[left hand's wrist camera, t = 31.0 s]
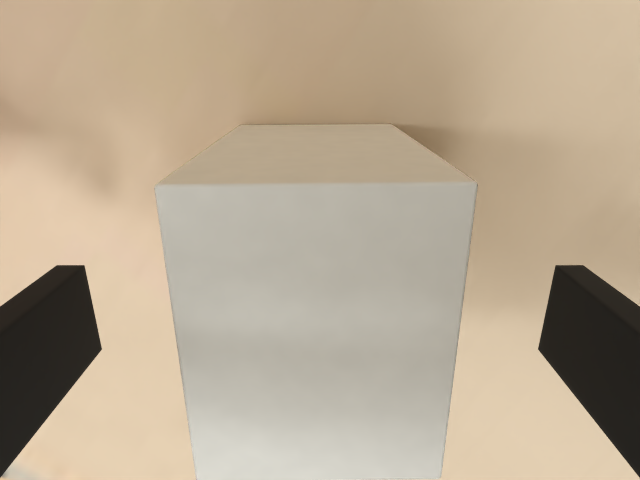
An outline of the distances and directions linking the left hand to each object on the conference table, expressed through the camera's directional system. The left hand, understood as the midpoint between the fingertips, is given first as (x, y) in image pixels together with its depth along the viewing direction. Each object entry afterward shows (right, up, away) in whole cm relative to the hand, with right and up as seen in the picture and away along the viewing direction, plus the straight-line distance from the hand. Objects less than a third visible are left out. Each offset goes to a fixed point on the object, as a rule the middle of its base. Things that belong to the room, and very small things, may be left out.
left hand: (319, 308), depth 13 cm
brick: (0, +3, +7) cm, 8 cm away
